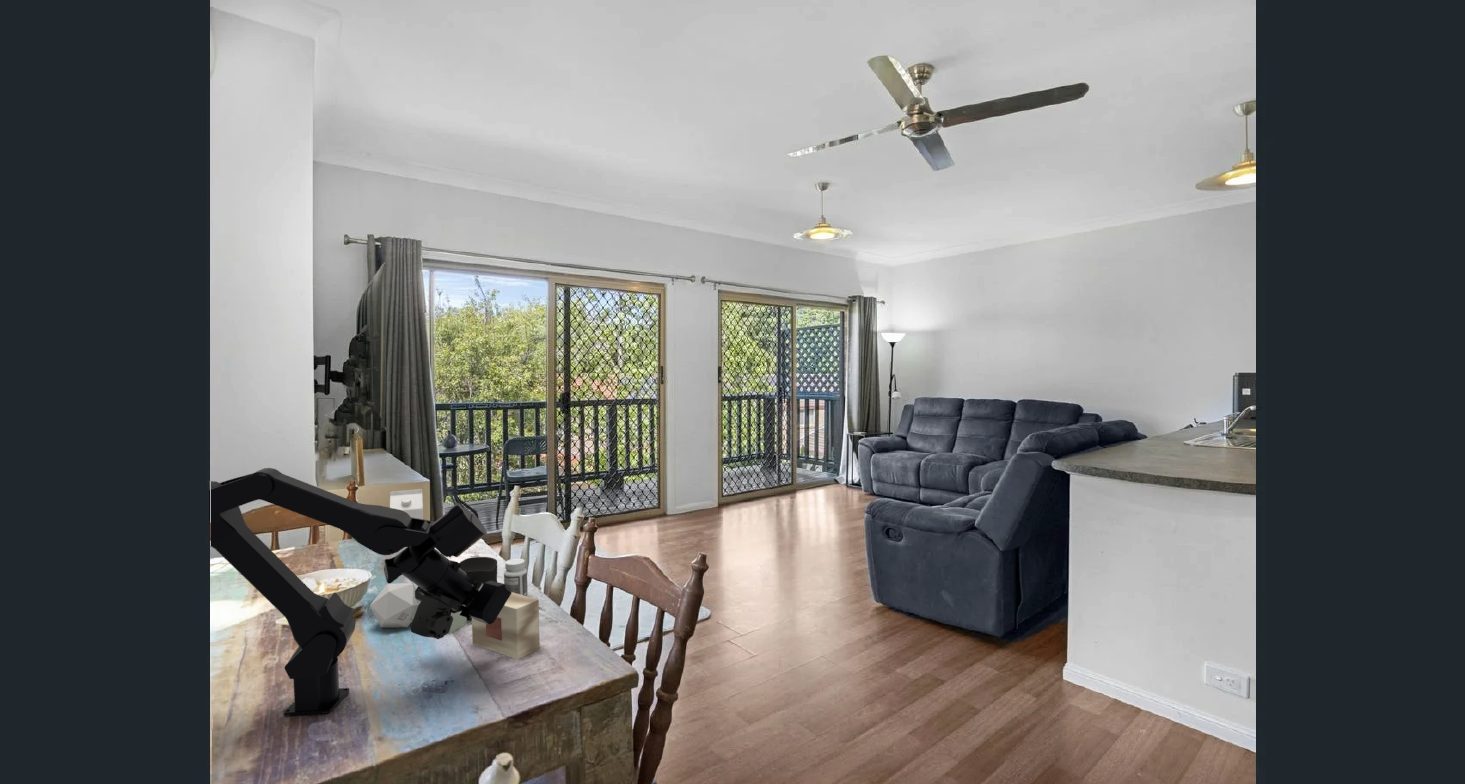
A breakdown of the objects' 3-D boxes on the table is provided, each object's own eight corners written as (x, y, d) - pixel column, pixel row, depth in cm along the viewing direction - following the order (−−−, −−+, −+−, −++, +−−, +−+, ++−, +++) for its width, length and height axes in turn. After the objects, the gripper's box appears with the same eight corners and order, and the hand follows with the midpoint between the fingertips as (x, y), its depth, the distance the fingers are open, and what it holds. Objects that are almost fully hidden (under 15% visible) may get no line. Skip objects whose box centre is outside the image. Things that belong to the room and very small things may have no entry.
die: (388, 641, 123) (421, 595, 125) (352, 616, 124) (386, 570, 126) (408, 638, 130) (439, 595, 133) (374, 614, 132) (405, 572, 134)
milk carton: (393, 563, 165) (390, 488, 164) (424, 559, 168) (422, 486, 167) (392, 572, 159) (389, 494, 157) (424, 567, 162) (422, 491, 160)
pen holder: (502, 614, 133) (501, 566, 132) (453, 625, 128) (451, 574, 128) (493, 599, 141) (491, 554, 140) (445, 608, 136) (444, 561, 136)
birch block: (517, 659, 114) (515, 609, 113) (472, 644, 120) (470, 595, 119) (539, 648, 118) (538, 599, 118) (495, 633, 124) (493, 587, 124)
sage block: (449, 633, 124) (448, 597, 124) (426, 630, 126) (425, 595, 125) (466, 622, 129) (465, 588, 129) (445, 620, 130) (444, 585, 130)
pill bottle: (519, 593, 145) (518, 556, 144) (532, 598, 142) (531, 560, 141) (500, 599, 141) (499, 561, 140) (512, 605, 138) (511, 566, 137)
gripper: (366, 607, 105) (430, 648, 115) (438, 632, 96) (501, 674, 106) (410, 546, 112) (468, 590, 122) (482, 564, 102) (538, 610, 112)
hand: (491, 616), depth 115 cm, fingers closed
